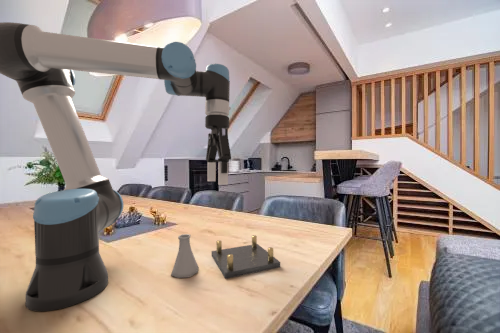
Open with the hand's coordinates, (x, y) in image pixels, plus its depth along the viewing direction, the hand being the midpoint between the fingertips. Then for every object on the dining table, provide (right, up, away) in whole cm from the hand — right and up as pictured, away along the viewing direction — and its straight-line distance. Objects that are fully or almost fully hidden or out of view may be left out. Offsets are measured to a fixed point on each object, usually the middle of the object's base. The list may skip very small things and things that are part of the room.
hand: (216, 182), depth 73 cm
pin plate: (+9, -23, -4) cm, 25 cm away
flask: (-7, -24, -11) cm, 27 cm away
